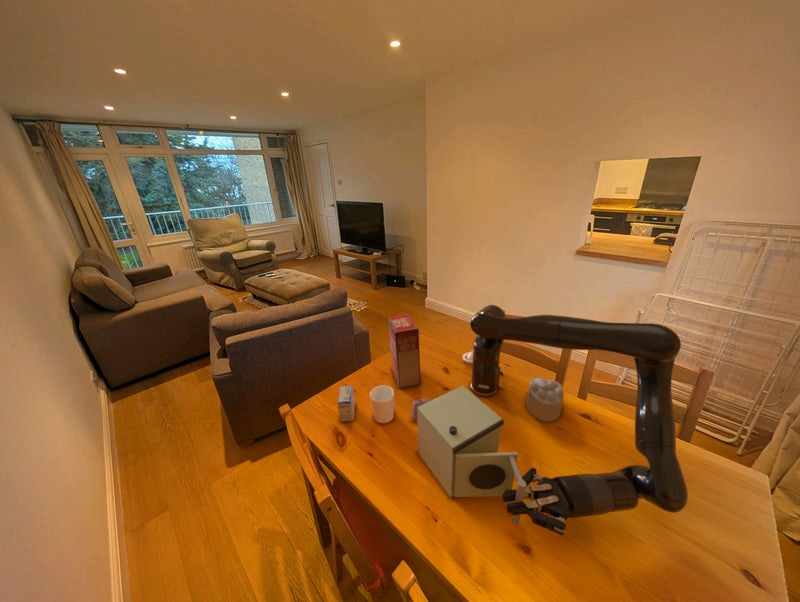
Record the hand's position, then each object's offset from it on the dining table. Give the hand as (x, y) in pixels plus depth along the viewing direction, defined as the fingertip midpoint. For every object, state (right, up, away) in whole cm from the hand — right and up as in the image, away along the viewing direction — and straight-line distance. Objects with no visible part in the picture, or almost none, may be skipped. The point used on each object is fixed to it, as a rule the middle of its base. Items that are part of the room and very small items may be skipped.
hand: (505, 502), depth 63 cm
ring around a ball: (+8, +17, +63) cm, 66 cm away
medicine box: (-41, +4, +39) cm, 57 cm away
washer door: (-2, -6, +7) cm, 10 cm away
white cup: (-28, +4, +37) cm, 47 cm away
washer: (-7, -2, +21) cm, 22 cm away
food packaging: (-20, +13, +56) cm, 61 cm away
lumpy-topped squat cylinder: (+26, +7, +37) cm, 46 cm away
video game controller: (-14, +4, +36) cm, 39 cm away
